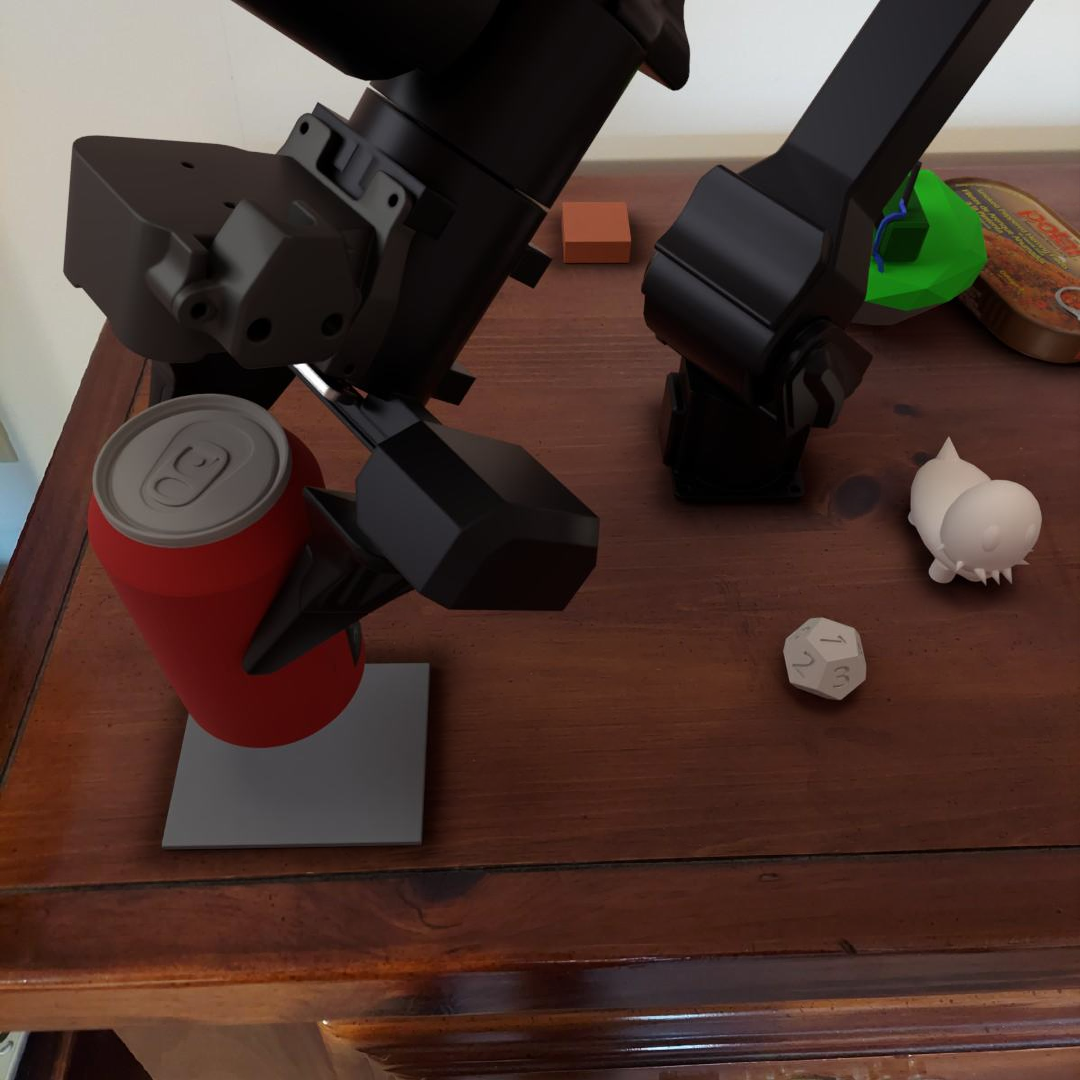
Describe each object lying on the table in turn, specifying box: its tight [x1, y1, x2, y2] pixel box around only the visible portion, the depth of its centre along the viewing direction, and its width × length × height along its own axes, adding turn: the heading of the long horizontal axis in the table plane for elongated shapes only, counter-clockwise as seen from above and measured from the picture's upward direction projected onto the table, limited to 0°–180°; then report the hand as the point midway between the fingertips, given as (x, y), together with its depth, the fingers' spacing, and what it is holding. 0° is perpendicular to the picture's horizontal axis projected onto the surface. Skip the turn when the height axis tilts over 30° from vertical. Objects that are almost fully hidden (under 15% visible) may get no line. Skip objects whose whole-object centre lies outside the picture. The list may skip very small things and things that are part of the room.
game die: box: [782, 617, 867, 701], centre depth 43 cm, size 4×4×3 cm
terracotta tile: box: [561, 201, 632, 264], centre depth 62 cm, size 4×4×2 cm
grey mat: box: [161, 662, 431, 851], centre depth 42 cm, size 10×8×1 cm
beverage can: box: [87, 394, 366, 748], centre depth 33 cm, size 7×7×12 cm
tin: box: [942, 176, 1080, 364], centre depth 60 cm, size 15×3×8 cm
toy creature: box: [907, 436, 1043, 586], centre depth 46 cm, size 5×8×6 cm, turn 4°
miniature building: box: [850, 160, 987, 326], centre depth 55 cm, size 12×12×11 cm
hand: (198, 595), depth 32 cm, fingers closed on beverage can, 7 cm apart
